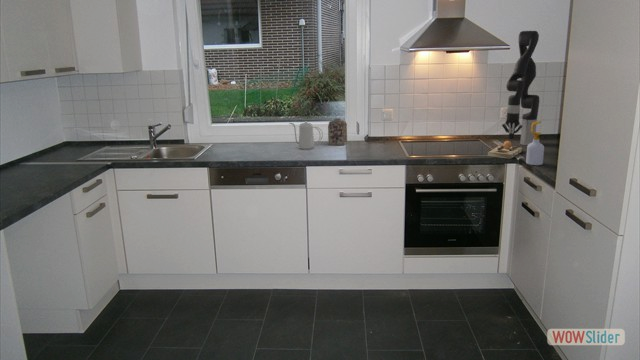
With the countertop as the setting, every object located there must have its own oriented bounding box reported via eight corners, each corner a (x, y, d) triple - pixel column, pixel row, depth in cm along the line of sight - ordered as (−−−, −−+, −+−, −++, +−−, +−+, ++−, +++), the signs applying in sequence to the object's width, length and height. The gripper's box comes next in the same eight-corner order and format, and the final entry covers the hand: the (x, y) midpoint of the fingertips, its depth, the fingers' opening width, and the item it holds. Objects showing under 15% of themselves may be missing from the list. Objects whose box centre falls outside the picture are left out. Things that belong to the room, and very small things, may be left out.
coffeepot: (292, 145, 370) (291, 119, 365) (325, 147, 361) (325, 120, 356) (286, 148, 360) (285, 121, 355) (319, 150, 351) (319, 122, 346)
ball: (504, 147, 332) (504, 139, 331) (512, 148, 329) (512, 140, 328) (501, 149, 328) (502, 141, 327) (509, 149, 326) (510, 142, 324)
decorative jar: (347, 142, 376) (347, 117, 372) (344, 145, 365) (344, 120, 361) (331, 142, 379) (330, 117, 374) (327, 145, 368) (327, 119, 363)
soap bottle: (544, 165, 295) (548, 122, 289) (527, 165, 297) (530, 122, 291) (541, 161, 304) (544, 120, 297) (524, 161, 306) (527, 119, 299)
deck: (499, 149, 340) (500, 143, 339) (522, 151, 332) (522, 145, 331) (487, 156, 322) (488, 150, 321) (510, 158, 314) (511, 152, 313)
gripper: (525, 112, 329) (523, 139, 333) (504, 110, 336) (502, 137, 340) (522, 113, 323) (520, 141, 327) (501, 112, 330) (499, 139, 334)
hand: (511, 139), depth 334 cm, fingers closed
